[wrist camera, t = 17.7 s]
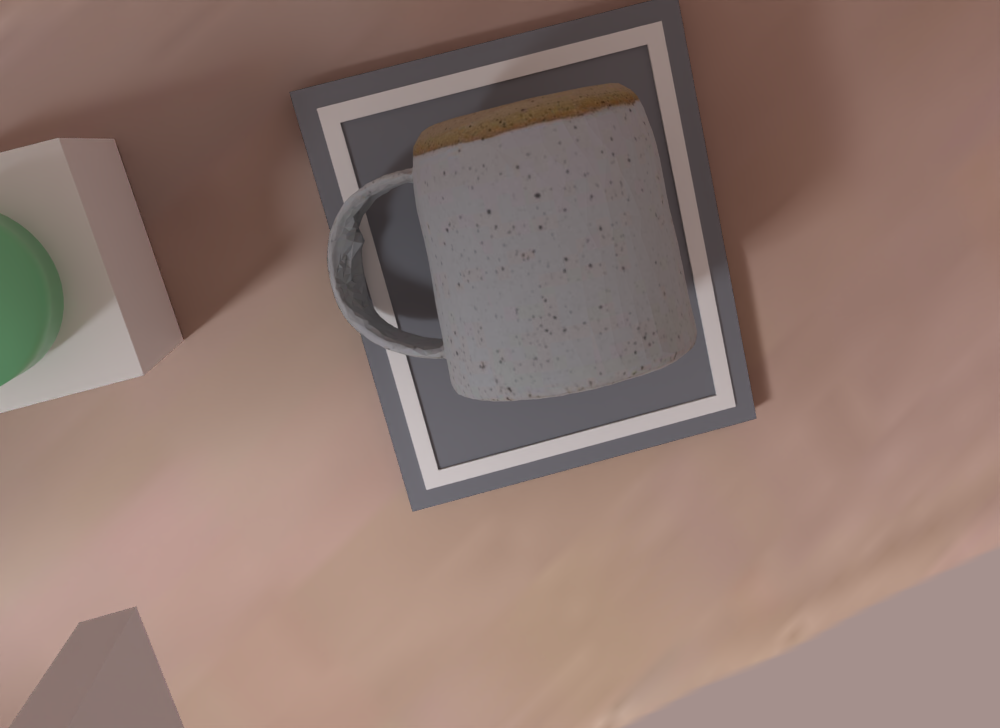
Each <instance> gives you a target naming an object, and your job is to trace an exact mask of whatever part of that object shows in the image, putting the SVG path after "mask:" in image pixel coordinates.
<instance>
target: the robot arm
mask: <svg viewBox="0 0 1000 728" xmlns="http://www.w3.org/2000/svg"><path fill="white" fill-rule="evenodd" d="M9 728H184V726H183V724H182V721H181V719H180V716H179V714H178V711H177V709H176V706H175V704H174V701H173V699H172V696H171V693H170V691H169V688H168V686H167V683H166V681H165V678H164V676H163V673H162V671H161V668H160V665H159V663H158V660H157V658H156V655H155V653H154V650H153V648H152V645H151V643H150V640H149V638H148V635H147V632H146V630H145V627H144V625H143V622H142V620H141V617H140V615H139V612H138V610H137V607H133V608H129V609H126V610H122V611H119V612H115V613H112V614H108V615H105V616H101V617H98V618H94V619H91V620H87V621H83V622H80V623H79V624H78V625H77V627H76V628H75V630H74V631H73V633H72V634H71V636H70V637H69V639H68V640H67V642H66V643H65V645H64V646H63V648H62V649H61V651H60V652H59V654H58V655H57V657H56V658H55V660H54V661H53V663H52V664H51V666H50V667H49V669H48V670H47V672H46V673H45V675H44V676H43V678H42V679H41V680H40V682H39V683H38V685H37V686H36V688H35V689H34V691H33V692H32V694H31V695H30V697H29V698H28V700H27V701H26V703H25V704H24V706H23V707H22V709H21V710H20V712H19V713H18V715H17V716H16V718H15V719H14V721H13V722H12V724H11V725H10V727H9Z"/></svg>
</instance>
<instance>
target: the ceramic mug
mask: <svg viewBox="0 0 1000 728" xmlns="http://www.w3.org/2000/svg"><path fill="white" fill-rule="evenodd" d="M405 183H413V188H414V195H415V202H416V209H417V213H418V217H419V221H420V225H421V230H422V234H423V237H424V242H425V247H426V251H427V256H428V261H429V266H430V272H431V278H432V284H433V290H434V296H435V303H436V308H437V313H438V318H439V323H440V328H441V333H442V338H443V339H438V338H428V337H422V336H418V335H415V334H412V333H408V332H405V331H402V330H400V329H398V328H396V327H394V326H393V325H391V324H389V323H387V322H386V321H385V320H384V319H383V318H381V317H380V316H379V314H378V313H377V312H376V311H375V309H374V306H373V304H372V302H371V301H370V300H369V297H368V293H367V288H366V281H365V274H364V268H363V263H362V247H363V244H364V241H365V240H364V238H363V235H362V233H361V232H360V229H359V226H360V223H361V220H362V218H363V215H364V214H365V213H366V212H367V210H368V209H369V208H370V207H371V205H372V204H373V202H374V201H375V200H376V199H377V198H378V197H380V196H381V195H383V194H386V193H388V192H389V191H390V190H391V189H393V188H396V187H398V186H401V185H403V184H405ZM327 263H328V271H329V277H330V282H331V286H332V290H333V293H334V296H335V299H336V302H337V304H338V307H339V309H340V310H341V312H342V314H343V315H344V317H345V318H346V319H347V321H348V322H349V323H350V324H351V325H352V326H353V327H354V328H355V329H356V330H357V331H358V332H360V333H361V334H362V335H363V336H365V337H366V338H367V339H369V340H370V341H372V342H373V343H375V344H377V345H380V346H382V347H383V348H385V349H387V350H391V351H394V352H397V353H401V354H404V355H409V356H414V357H420V358H433V359H442V358H445V359H447V364H448V369H449V375H450V380H451V384H452V386H453V388H454V389H455V391H456V392H457V393H458V394H459V395H462V396H464V397H467V398H471V399H477V400H481V401H517V400H529V399H542V398H549V397H558V396H564V395H567V394H572V393H578V392H583V391H588V390H593V389H598V388H601V387H604V386H609V385H612V384H615V383H618V382H621V381H625V380H628V379H632V378H635V377H639V376H642V375H645V374H648V373H651V372H654V371H657V370H659V369H662V368H664V367H666V366H668V365H670V364H672V363H674V362H675V361H677V360H678V359H679V358H681V357H682V356H683V355H684V354H686V353H687V352H688V351H689V350H691V349H692V348H693V346H694V344H695V342H696V337H697V329H696V324H695V320H694V316H693V312H692V308H691V304H690V299H689V294H688V290H687V285H686V280H685V275H684V270H683V265H682V260H681V256H680V251H679V246H678V241H677V237H676V233H675V229H674V225H673V220H672V216H671V213H670V208H669V204H668V199H667V194H666V189H665V183H664V178H663V172H662V167H661V162H660V157H659V153H658V149H657V145H656V141H655V138H654V134H653V131H652V128H651V126H650V123H649V121H648V118H647V115H646V113H645V110H644V107H643V106H642V104H641V102H640V100H639V98H638V96H637V95H636V94H635V93H634V92H633V91H632V90H631V89H629V88H627V87H625V86H623V85H621V84H619V83H607V84H601V85H595V86H588V87H582V88H577V89H572V90H567V91H563V92H558V93H553V94H548V95H543V96H538V97H533V98H529V99H525V100H521V101H517V102H513V103H510V104H506V105H502V106H498V107H494V108H490V109H486V110H483V111H479V112H475V113H471V114H467V115H464V116H460V117H456V118H452V119H449V120H446V121H443V122H440V123H437V124H434V125H432V126H430V127H428V128H427V129H425V130H424V131H422V132H421V134H420V136H419V137H418V139H417V141H416V143H415V145H414V147H413V168H411V169H405V170H402V171H397V172H394V173H391V174H387V175H383V176H381V177H379V178H377V179H375V180H373V181H371V182H369V183H367V184H366V185H364V186H363V187H362V188H360V189H359V190H358V191H356V192H355V193H354V194H352V195H351V196H350V197H349V198H348V199H347V200H346V201H345V202H344V204H343V206H342V207H341V209H340V211H339V212H338V214H337V216H336V218H335V220H334V223H333V225H332V228H331V231H330V233H329V241H328V251H327Z"/></svg>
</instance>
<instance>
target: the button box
mask: <svg viewBox="0 0 1000 728" xmlns="http://www.w3.org/2000/svg"><path fill="white" fill-rule="evenodd" d="M0 213H1V214H3V215H5V216H7V217H9V218H11V219H12V220H14V221H15V222H17V223H19V224H20V225H21V226H23V227H24V228H25V229H27V230H28V231H29V232H30V233H31V234H32V235H33V236H34V237H35V238H36V239H37V240H38V241H39V242H40V243H41V244H42V246H43V247H44V248H45V250H46V251H47V252H48V254H49V256H50V257H51V259H52V261H53V262H54V265H55V267H56V269H57V271H58V274H59V277H60V281H61V284H62V290H63V296H64V311H63V319H62V323H61V327H60V330H59V333H58V335H57V337H56V339H55V341H54V343H53V345H52V346H51V348H50V349H49V351H48V352H47V353H46V354H45V356H44V357H43V358H42V359H41V360H40V361H39V362H37V363H36V364H35V365H34V366H33V367H31V368H30V369H28V370H27V371H25V372H24V373H22V374H20V375H19V376H17V377H15V378H14V379H12V380H10V381H9V382H7V383H5V384H4V385H2V386H0V413H3V412H7V411H10V410H14V409H18V408H22V407H26V406H29V405H33V404H37V403H41V402H45V401H48V400H52V399H56V398H60V397H64V396H68V395H71V394H75V393H79V392H83V391H87V390H90V389H94V388H98V387H102V386H106V385H109V384H113V383H117V382H121V381H125V380H128V379H132V378H136V377H140V376H144V375H145V374H146V373H147V372H148V371H149V370H151V369H152V368H153V367H154V366H155V365H156V364H157V363H159V362H160V361H161V360H162V359H163V358H164V357H165V356H167V355H168V354H169V353H170V352H171V351H172V350H173V349H175V348H176V347H177V346H178V345H179V344H180V343H181V342H183V341H184V340H183V337H182V334H181V331H180V329H179V326H178V323H177V320H176V317H175V314H174V311H173V308H172V305H171V302H170V299H169V297H168V294H167V291H166V288H165V285H164V282H163V279H162V276H161V273H160V270H159V267H158V265H157V262H156V259H155V256H154V253H153V250H152V247H151V244H150V241H149V238H148V236H147V233H146V230H145V227H144V224H143V221H142V218H141V215H140V212H139V209H138V206H137V204H136V201H135V198H134V195H133V192H132V189H131V186H130V183H129V180H128V177H127V174H126V172H125V169H124V166H123V163H122V160H121V157H120V154H119V151H118V148H117V145H116V142H115V140H114V139H103V138H56V139H52V140H48V141H44V142H40V143H36V144H32V145H28V146H24V147H20V148H16V149H12V150H8V151H4V152H0Z"/></svg>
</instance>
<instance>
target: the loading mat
mask: <svg viewBox="0 0 1000 728" xmlns="http://www.w3.org/2000/svg"><path fill="white" fill-rule="evenodd" d="M607 83H619V84H621V85H623V86H625V87H627V88H629V89H631V90H632V91H633V92H634V93H635V94H636V95H637V96H638V98H639V100H640V102H641V104H642V106H643V107H644V110H645V113H646V115H647V118H648V121H649V123H650V126H651V128H652V131H653V134H654V138H655V141H656V145H657V149H658V153H659V157H660V162H661V167H662V172H663V178H664V183H665V189H666V194H667V199H668V204H669V208H670V213H671V216H672V220H673V225H674V229H675V233H676V237H677V241H678V246H679V251H680V256H681V260H682V265H683V270H684V275H685V280H686V285H687V290H688V294H689V299H690V304H691V308H692V312H693V316H694V320H695V324H696V329H697V337H696V342H695V344H694V346H693V348H692V349H691V350H689V351H688V352H687V353H686V354H684V355H683V356H682V357H681V358H679V359H678V360H677V361H675V362H674V363H672V364H670V365H668V366H666V367H664V368H662V369H659V370H657V371H654V372H651V373H648V374H645V375H642V376H639V377H635V378H632V379H628V380H625V381H621V382H618V383H615V384H612V385H609V386H604V387H601V388H598V389H593V390H588V391H583V392H578V393H572V394H567V395H564V396H558V397H549V398H542V399H529V400H517V401H481V400H477V399H471V398H467V397H464V396H462V395H459V394H458V393H457V392H456V391H455V389H454V388H453V386H452V384H451V380H450V375H449V369H448V364H447V359H445V358H442V359H433V358H420V357H414V356H409V355H404V354H401V353H397V352H394V351H391V350H387V349H385V348H383V347H382V346H380V345H377V344H375V343H373V342H372V341H370V340H369V339H367V338H366V337H365V336H363V335H362V334H361V333H360V334H361V338H362V341H363V344H364V348H365V351H366V355H367V358H368V361H369V365H370V368H371V372H372V375H373V378H374V382H375V385H376V389H377V392H378V395H379V399H380V402H381V406H382V409H383V412H384V416H385V419H386V423H387V426H388V429H389V433H390V436H391V440H392V443H393V446H394V450H395V453H396V457H397V460H398V464H399V467H400V470H401V474H402V477H403V481H404V484H405V487H406V491H407V494H408V498H409V501H410V504H411V508H412V511H417V510H421V509H424V508H428V507H432V506H436V505H439V504H443V503H447V502H450V501H454V500H458V499H461V498H465V497H469V496H472V495H476V494H480V493H484V492H487V491H491V490H495V489H498V488H502V487H506V486H509V485H513V484H517V483H520V482H524V481H528V480H532V479H535V478H539V477H543V476H546V475H550V474H554V473H557V472H561V471H565V470H568V469H572V468H576V467H579V466H583V465H587V464H591V463H594V462H598V461H602V460H605V459H609V458H613V457H616V456H620V455H624V454H627V453H631V452H635V451H639V450H642V449H646V448H650V447H653V446H657V445H661V444H664V443H668V442H672V441H675V440H679V439H683V438H687V437H690V436H694V435H698V434H701V433H705V432H709V431H712V430H716V429H720V428H723V427H727V426H731V425H735V424H738V423H742V422H746V421H749V420H753V419H757V418H756V413H755V408H754V402H753V397H752V392H751V386H750V381H749V376H748V370H747V365H746V360H745V354H744V349H743V343H742V338H741V333H740V327H739V322H738V317H737V311H736V306H735V301H734V295H733V290H732V285H731V279H730V274H729V269H728V263H727V258H726V253H725V247H724V242H723V236H722V231H721V226H720V220H719V215H718V210H717V204H716V199H715V194H714V188H713V183H712V178H711V172H710V167H709V162H708V156H707V151H706V146H705V140H704V135H703V129H702V124H701V119H700V113H699V108H698V103H697V97H696V92H695V87H694V81H693V76H692V71H691V65H690V60H689V55H688V49H687V44H686V39H685V33H684V28H683V22H682V17H681V12H680V6H679V1H678V0H651V1H647V2H643V3H639V4H635V5H631V6H628V7H624V8H620V9H616V10H612V11H608V12H604V13H600V14H596V15H592V16H588V17H584V18H580V19H576V20H572V21H568V22H564V23H560V24H557V25H553V26H549V27H545V28H541V29H537V30H533V31H529V32H525V33H521V34H517V35H513V36H509V37H505V38H501V39H497V40H493V41H489V42H486V43H482V44H478V45H474V46H470V47H466V48H462V49H458V50H454V51H450V52H446V53H442V54H438V55H434V56H430V57H426V58H422V59H418V60H415V61H411V62H407V63H403V64H399V65H395V66H391V67H387V68H383V69H379V70H375V71H371V72H367V73H363V74H359V75H355V76H351V77H347V78H343V79H340V80H336V81H332V82H328V83H324V84H320V85H316V86H312V87H308V88H304V89H300V90H296V91H292V92H290V96H291V99H292V103H293V106H294V109H295V113H296V116H297V120H298V123H299V126H300V130H301V133H302V137H303V140H304V143H305V147H306V150H307V154H308V157H309V160H310V164H311V167H312V171H313V174H314V177H315V181H316V184H317V188H318V191H319V194H320V198H321V201H322V205H323V208H324V211H325V215H326V218H327V222H328V225H329V229H330V231H331V228H332V225H333V223H334V220H335V218H336V216H337V214H338V212H339V211H340V209H341V207H342V206H343V204H344V202H345V201H346V200H347V199H348V198H349V197H350V196H351V195H352V194H354V193H355V192H356V191H358V190H359V189H360V188H362V187H363V186H364V185H366V184H367V183H369V182H371V181H373V180H375V179H377V178H379V177H381V176H383V175H387V174H391V173H394V172H397V171H402V170H405V169H411V168H413V147H414V145H415V143H416V141H417V139H418V137H419V136H420V134H421V132H422V131H424V130H425V129H427V128H428V127H430V126H432V125H434V124H437V123H440V122H443V121H446V120H449V119H452V118H456V117H460V116H464V115H467V114H471V113H475V112H479V111H483V110H486V109H490V108H494V107H498V106H502V105H506V104H510V103H513V102H517V101H521V100H525V99H529V98H533V97H538V96H543V95H548V94H553V93H558V92H563V91H567V90H572V89H577V88H582V87H588V86H595V85H601V84H607ZM359 229H360V232H361V233H362V235H363V238H364V240H365V241H364V244H363V247H362V263H363V268H364V274H365V281H366V288H367V293H368V297H369V300H370V301H371V302H372V304H373V306H374V309H375V311H376V312H377V313H378V314H379V316H380V317H381V318H383V319H384V320H385V321H386V322H387V323H389V324H391V325H393V326H394V327H396V328H398V329H400V330H402V331H405V332H408V333H412V334H415V335H418V336H422V337H428V338H438V339H443V338H442V333H441V328H440V323H439V318H438V313H437V308H436V303H435V296H434V290H433V284H432V278H431V272H430V266H429V261H428V256H427V251H426V247H425V242H424V237H423V234H422V230H421V225H420V221H419V217H418V213H417V209H416V202H415V195H414V188H413V183H405V184H403V185H401V186H398V187H396V188H393V189H391V190H390V191H389V192H388V193H386V194H383V195H381V196H380V197H378V198H377V199H376V200H375V201H374V202H373V204H372V205H371V207H370V208H369V209H368V210H367V212H366V213H365V214H364V215H363V218H362V220H361V223H360V226H359Z"/></svg>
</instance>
